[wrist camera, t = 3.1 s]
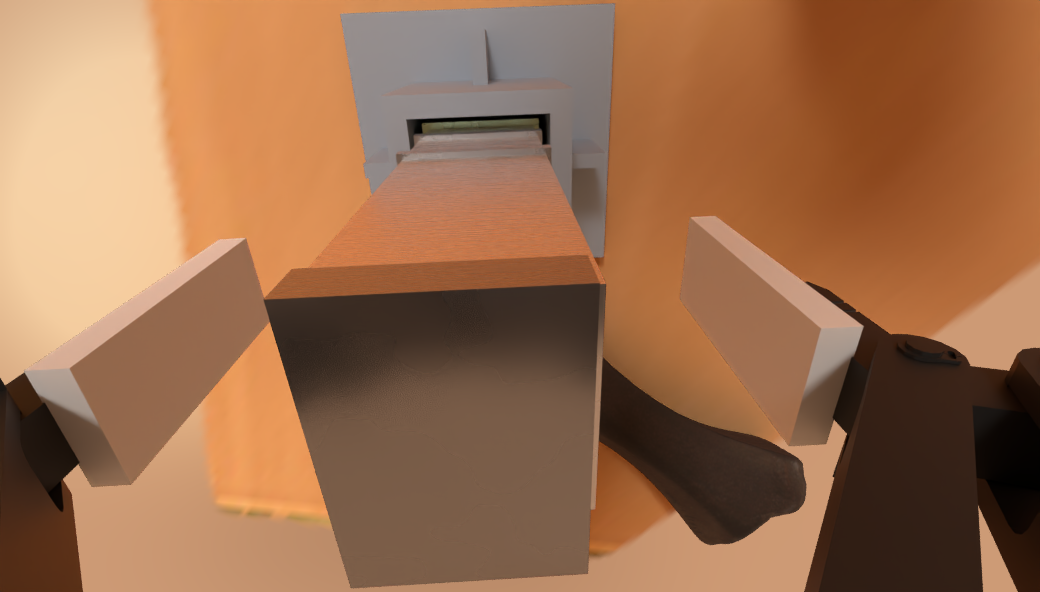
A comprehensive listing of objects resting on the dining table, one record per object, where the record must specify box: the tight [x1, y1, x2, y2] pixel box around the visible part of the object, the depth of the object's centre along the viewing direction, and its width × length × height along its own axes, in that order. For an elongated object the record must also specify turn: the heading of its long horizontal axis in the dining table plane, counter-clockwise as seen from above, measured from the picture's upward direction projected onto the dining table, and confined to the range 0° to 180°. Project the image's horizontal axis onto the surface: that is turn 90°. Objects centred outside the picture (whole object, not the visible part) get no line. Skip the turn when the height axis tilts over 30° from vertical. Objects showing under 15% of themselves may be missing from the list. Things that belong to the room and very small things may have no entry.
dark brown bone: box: [599, 358, 806, 545], centre depth 41 cm, size 11×10×28 cm
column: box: [263, 114, 606, 588], centre depth 20 cm, size 6×6×27 cm
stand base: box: [340, 3, 615, 258], centre depth 28 cm, size 16×16×12 cm
